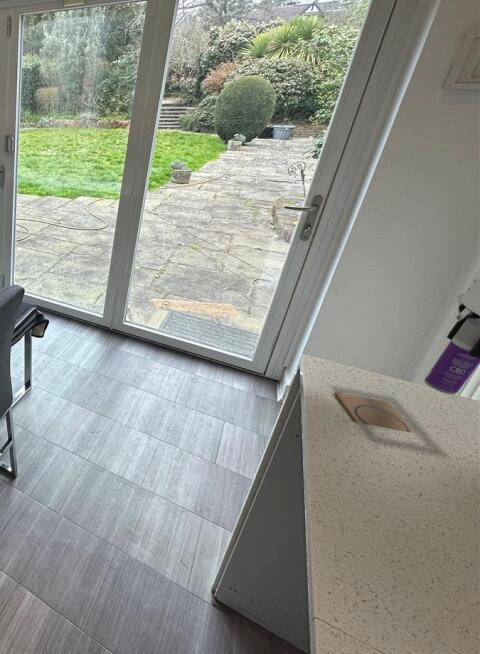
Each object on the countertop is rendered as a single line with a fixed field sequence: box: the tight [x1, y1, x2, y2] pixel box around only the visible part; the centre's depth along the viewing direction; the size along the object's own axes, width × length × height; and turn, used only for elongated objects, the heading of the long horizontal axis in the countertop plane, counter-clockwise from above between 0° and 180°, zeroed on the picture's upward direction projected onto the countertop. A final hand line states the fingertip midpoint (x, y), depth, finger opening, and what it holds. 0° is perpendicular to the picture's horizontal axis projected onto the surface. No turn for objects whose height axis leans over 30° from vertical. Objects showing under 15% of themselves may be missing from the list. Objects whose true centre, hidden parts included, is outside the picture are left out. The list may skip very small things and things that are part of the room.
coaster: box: [334, 391, 417, 435], centre depth 84 cm, size 10×14×1 cm
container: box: [424, 318, 480, 395], centre depth 79 cm, size 5×5×15 cm
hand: (468, 347), depth 78 cm, fingers closed on container, 4 cm apart
